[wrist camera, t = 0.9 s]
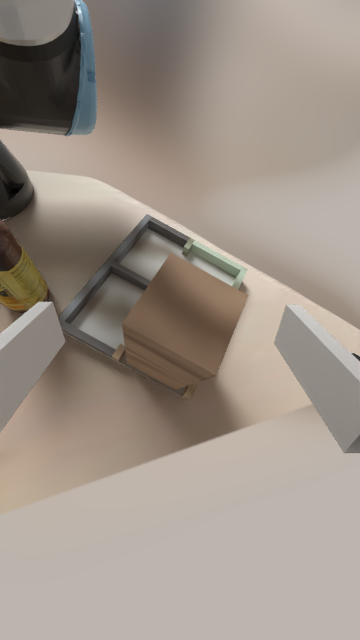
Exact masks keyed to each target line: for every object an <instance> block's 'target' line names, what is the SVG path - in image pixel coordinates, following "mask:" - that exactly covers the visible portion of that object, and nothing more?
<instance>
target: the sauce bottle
mask: <svg viewBox="0 0 360 640" xmlns="http://www.w3.org/2000/svg"><path fill="white" fill-rule="evenodd" d="M48 296H49V289H48V287H47V284H46V282H45V281H44V279H43V278H42V276H41V275H40V273H39V271H38V270H37V268H36V267H35V265H34V264H33V262H32V261H31V259H30V258H29V256H28V255H27V253H26V252H25V250H24V249H23V247H22V246H21V244H20V243H19V241H18V240H17V239H16V238H15V237H14V236H13V234H12V233H11V231H10V229H9V228H8V226H7V225H6V224H5V223H4V222H3V221H2V220H1V219H0V303H1V304H2V305H3V306H5V307H7V308H8V309H11V310H13V311H16V312H22V313H26V312H27V311H28V310H29V309H30V308H32V307H33V306H34V305H35V304H37V303H38V302H46V301H47V299H48Z"/></svg>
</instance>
